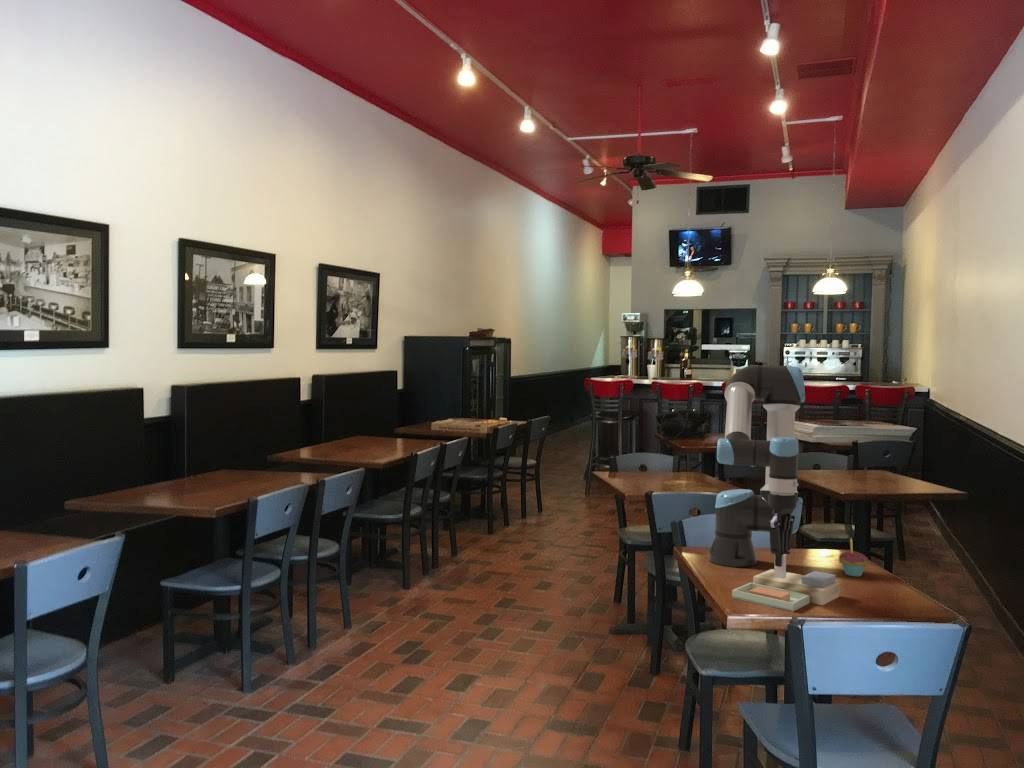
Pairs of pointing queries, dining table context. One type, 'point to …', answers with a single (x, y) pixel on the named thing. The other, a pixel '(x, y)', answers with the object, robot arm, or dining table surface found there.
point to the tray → (795, 598)
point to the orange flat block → (771, 593)
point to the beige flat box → (799, 586)
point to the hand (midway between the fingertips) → (779, 577)
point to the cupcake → (853, 562)
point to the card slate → (818, 579)
